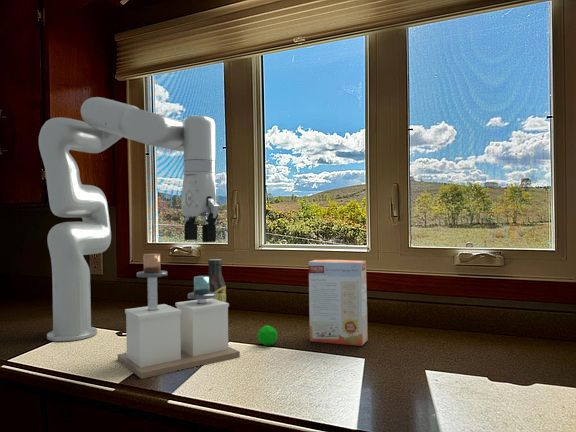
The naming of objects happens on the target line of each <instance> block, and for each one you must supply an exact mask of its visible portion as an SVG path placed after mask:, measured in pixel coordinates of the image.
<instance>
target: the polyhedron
mask: <svg viewBox="0 0 576 432" xmlns="http://www.w3.org/2000/svg"><path fill="white" fill-rule="evenodd" d="M257 339H258V343H260V344H262V345H263V346H265V347H270V346H272V345H273V344H275V343H276V341H277V339H278V332H277V330H276V329H275V327H273V326H272V325H271V326H270V324H269V325H268V324H267V325H264V326H263V327H261V328H260V329H259V330H258V332H257Z"/></svg>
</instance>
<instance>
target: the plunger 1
mask: <svg viewBox="0 0 576 432" xmlns="http://www.w3.org/2000/svg"><path fill="white" fill-rule="evenodd" d="M161 267H162V266H161V253H143V270H142V271H138V272H136V277H137V278H142V279H143V278H144V279H147V306H148V311H156V310H158V305H159V303H158V278H163V277H167V276H168V275H169V274H168V271H167V270H162V269H161Z"/></svg>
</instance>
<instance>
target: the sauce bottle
mask: <svg viewBox="0 0 576 432" xmlns="http://www.w3.org/2000/svg"><path fill="white" fill-rule="evenodd" d="M207 264H208V276H209V291H211V292H215V293H216V297H214V298H212V299H216V300H219V301H222V302H226V303H227V286H226V283H225V279H224V276H223V274H222V265H223V260H222V259H220V258H215V259H214V258H213V259H210V258H209V259H208V260H207Z"/></svg>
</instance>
